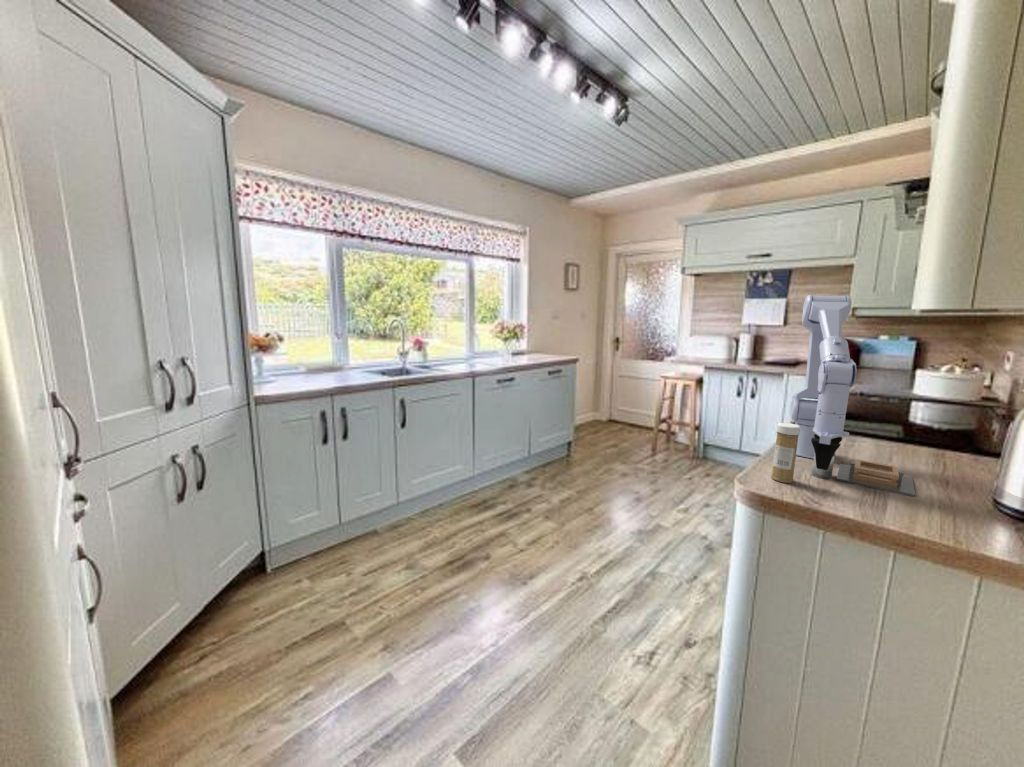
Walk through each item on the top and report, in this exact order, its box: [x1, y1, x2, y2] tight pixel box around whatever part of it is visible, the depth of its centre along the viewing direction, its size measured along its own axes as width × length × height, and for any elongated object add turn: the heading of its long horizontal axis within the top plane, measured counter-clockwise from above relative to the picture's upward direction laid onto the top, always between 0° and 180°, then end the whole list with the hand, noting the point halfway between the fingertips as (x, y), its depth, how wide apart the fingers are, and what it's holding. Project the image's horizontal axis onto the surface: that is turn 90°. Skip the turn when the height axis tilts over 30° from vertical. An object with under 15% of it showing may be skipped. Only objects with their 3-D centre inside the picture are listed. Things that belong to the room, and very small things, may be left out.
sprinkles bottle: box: [770, 422, 800, 484], centre depth 103 cm, size 5×5×14 cm
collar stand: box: [836, 459, 916, 498], centre depth 106 cm, size 14×14×3 cm
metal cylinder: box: [811, 450, 837, 480], centre depth 107 cm, size 4×4×7 cm
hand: (822, 466), depth 107 cm, fingers closed on metal cylinder, 4 cm apart
